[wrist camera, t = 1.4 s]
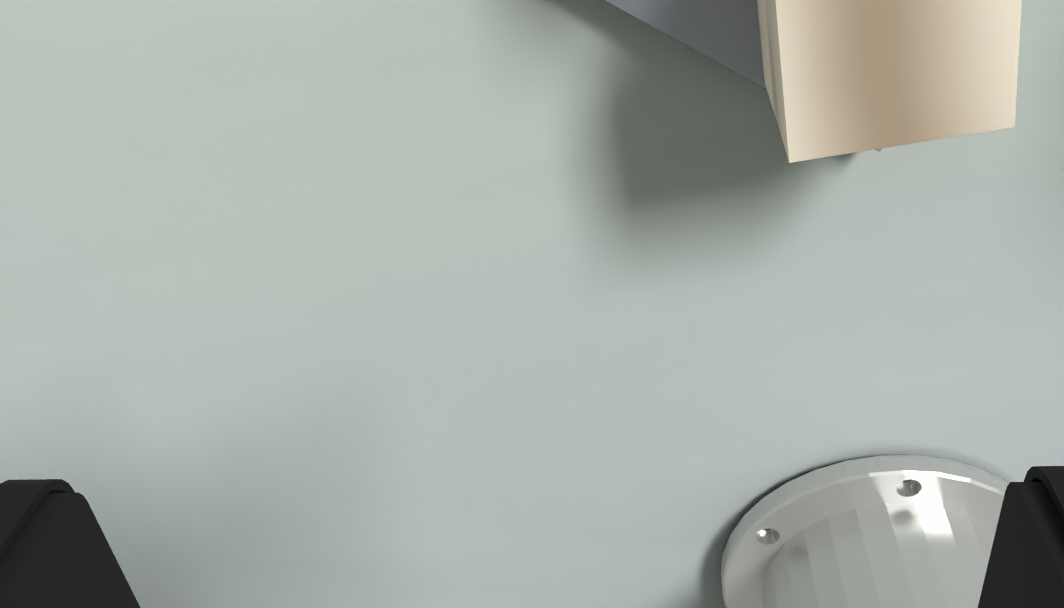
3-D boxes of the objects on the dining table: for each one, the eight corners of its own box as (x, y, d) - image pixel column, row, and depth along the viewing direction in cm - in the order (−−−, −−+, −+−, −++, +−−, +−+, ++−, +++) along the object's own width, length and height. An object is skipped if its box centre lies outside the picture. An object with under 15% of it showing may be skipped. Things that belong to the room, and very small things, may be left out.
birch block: (957, -150, 23) (1027, -102, 19) (953, 49, 26) (1014, 126, 22) (746, -105, 24) (771, -51, 20) (765, 82, 27) (789, 163, 23)
